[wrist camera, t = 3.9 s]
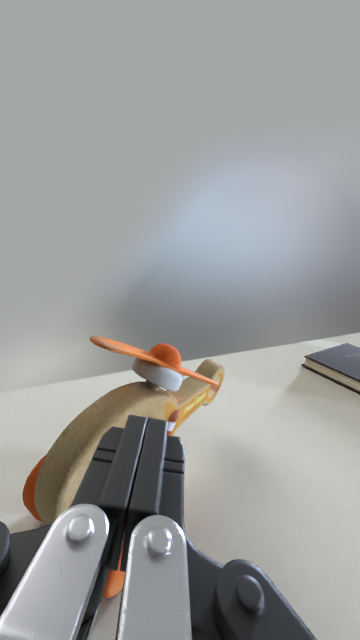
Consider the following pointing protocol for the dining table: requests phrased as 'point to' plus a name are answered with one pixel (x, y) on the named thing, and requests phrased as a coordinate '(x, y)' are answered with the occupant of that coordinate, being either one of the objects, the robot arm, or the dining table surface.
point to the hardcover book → (337, 365)
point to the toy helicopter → (113, 410)
